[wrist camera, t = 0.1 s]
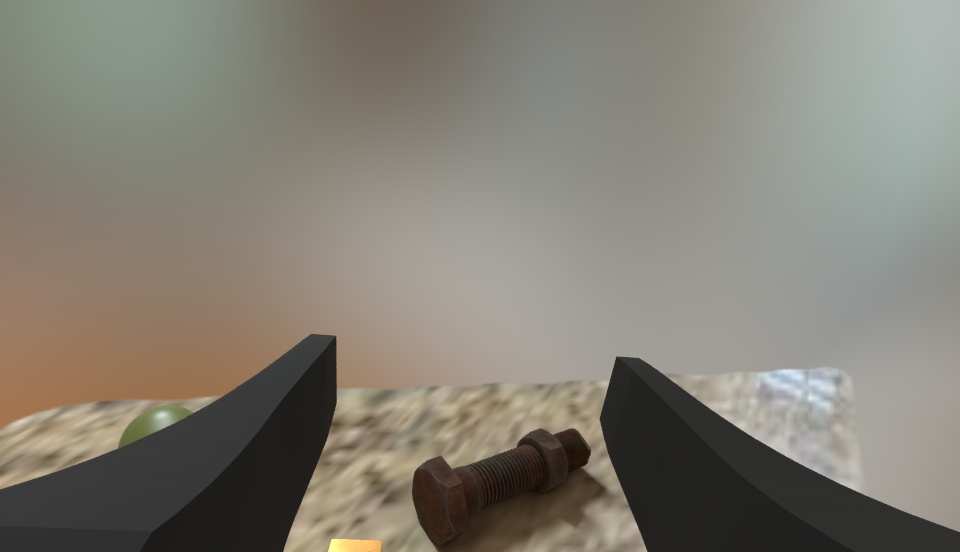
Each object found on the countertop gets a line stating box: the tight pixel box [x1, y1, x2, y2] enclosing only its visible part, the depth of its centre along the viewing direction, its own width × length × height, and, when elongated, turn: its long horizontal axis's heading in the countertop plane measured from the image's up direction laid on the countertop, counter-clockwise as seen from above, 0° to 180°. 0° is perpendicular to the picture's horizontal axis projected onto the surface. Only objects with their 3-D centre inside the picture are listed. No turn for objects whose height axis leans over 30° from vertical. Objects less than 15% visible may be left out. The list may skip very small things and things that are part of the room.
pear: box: [118, 406, 193, 448], centre depth 34 cm, size 6×5×10 cm
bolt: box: [412, 428, 591, 546], centre depth 37 cm, size 6×5×15 cm
